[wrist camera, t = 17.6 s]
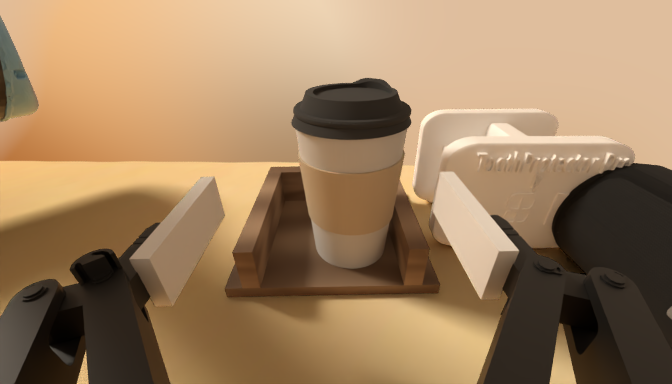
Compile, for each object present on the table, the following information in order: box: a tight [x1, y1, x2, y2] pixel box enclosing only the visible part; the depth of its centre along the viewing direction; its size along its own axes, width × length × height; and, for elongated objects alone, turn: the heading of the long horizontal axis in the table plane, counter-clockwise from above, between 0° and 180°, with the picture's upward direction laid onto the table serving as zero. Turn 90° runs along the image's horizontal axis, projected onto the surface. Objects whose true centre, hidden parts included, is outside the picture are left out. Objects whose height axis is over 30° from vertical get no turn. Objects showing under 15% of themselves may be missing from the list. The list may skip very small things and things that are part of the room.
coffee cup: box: [292, 78, 411, 269], centre depth 24 cm, size 9×9×15 cm
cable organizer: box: [412, 109, 635, 248], centre depth 29 cm, size 15×11×12 cm
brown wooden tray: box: [225, 167, 440, 297], centre depth 29 cm, size 16×18×5 cm
